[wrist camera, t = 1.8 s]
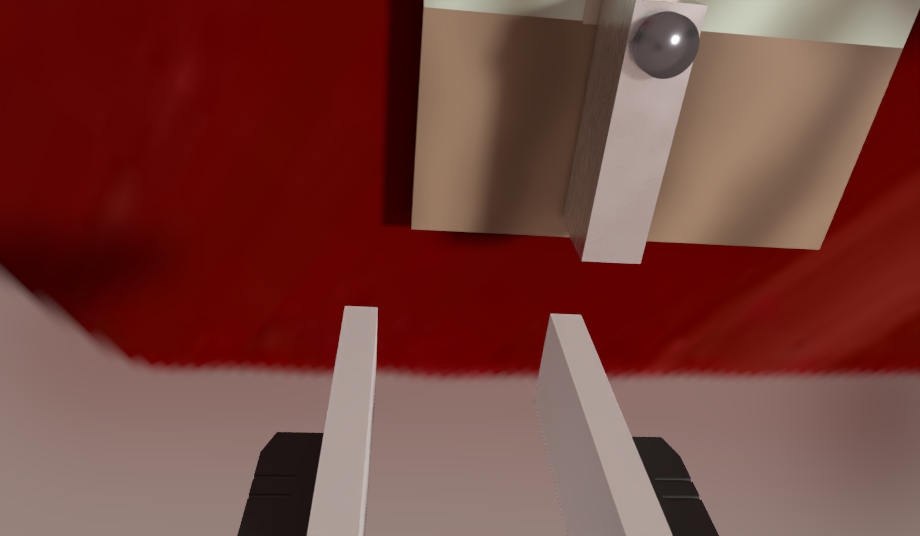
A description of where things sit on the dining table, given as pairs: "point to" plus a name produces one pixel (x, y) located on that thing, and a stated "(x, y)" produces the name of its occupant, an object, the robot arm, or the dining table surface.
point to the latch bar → (629, 123)
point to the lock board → (698, 128)
